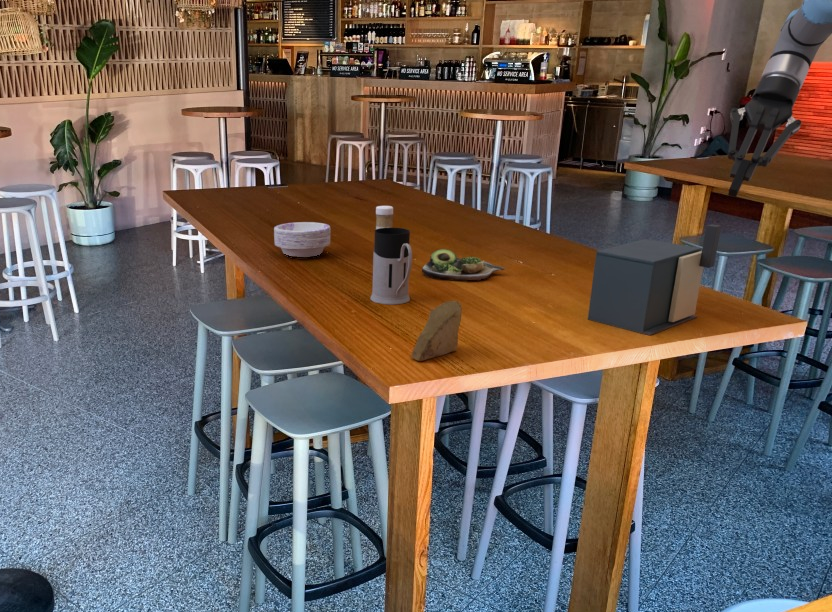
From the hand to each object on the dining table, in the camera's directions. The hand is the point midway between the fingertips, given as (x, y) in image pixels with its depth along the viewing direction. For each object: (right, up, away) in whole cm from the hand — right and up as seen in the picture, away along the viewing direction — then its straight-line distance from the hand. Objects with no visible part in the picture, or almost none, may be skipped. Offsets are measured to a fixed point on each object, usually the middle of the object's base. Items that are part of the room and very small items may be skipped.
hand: (732, 192), depth 152 cm
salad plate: (-46, -9, +44) cm, 64 cm away
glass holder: (-63, -19, +19) cm, 69 cm away
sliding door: (-7, -24, +5) cm, 25 cm away
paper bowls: (-84, -2, +62) cm, 105 cm away
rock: (-59, -32, -11) cm, 68 cm away
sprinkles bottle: (-63, -3, +60) cm, 87 cm away
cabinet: (-15, -23, +8) cm, 29 cm away
